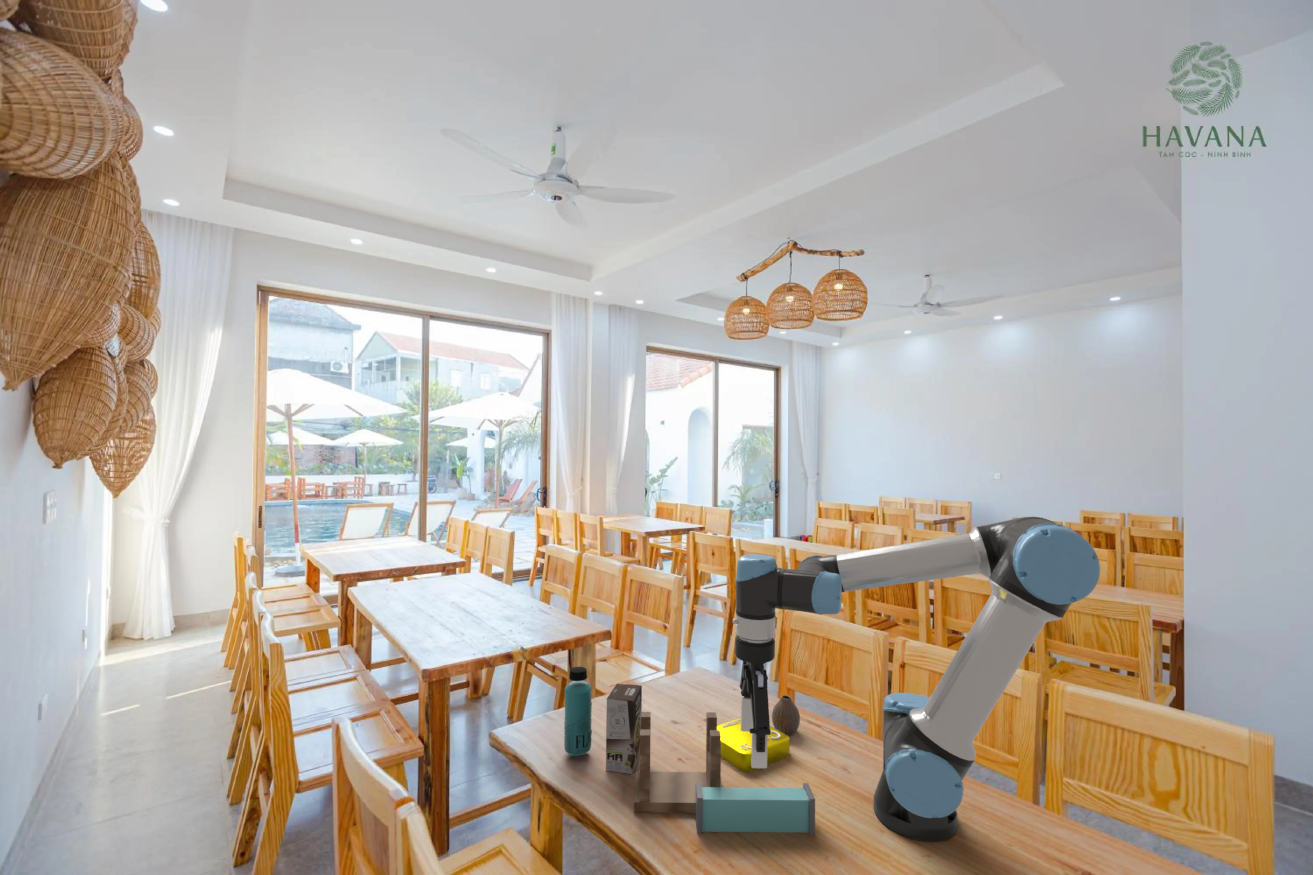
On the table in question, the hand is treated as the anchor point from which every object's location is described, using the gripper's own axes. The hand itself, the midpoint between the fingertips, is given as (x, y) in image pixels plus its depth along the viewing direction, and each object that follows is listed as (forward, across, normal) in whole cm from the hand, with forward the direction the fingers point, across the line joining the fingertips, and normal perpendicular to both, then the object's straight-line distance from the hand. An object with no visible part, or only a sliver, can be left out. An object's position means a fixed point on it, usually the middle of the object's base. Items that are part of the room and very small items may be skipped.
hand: (753, 747), depth 115 cm
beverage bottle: (+15, -25, -37) cm, 47 cm away
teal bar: (+15, 0, 0) cm, 15 cm away
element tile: (+15, -28, +3) cm, 32 cm away
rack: (+15, -9, -14) cm, 22 cm away
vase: (+15, -37, +14) cm, 42 cm away
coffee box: (+15, -22, -26) cm, 37 cm away
